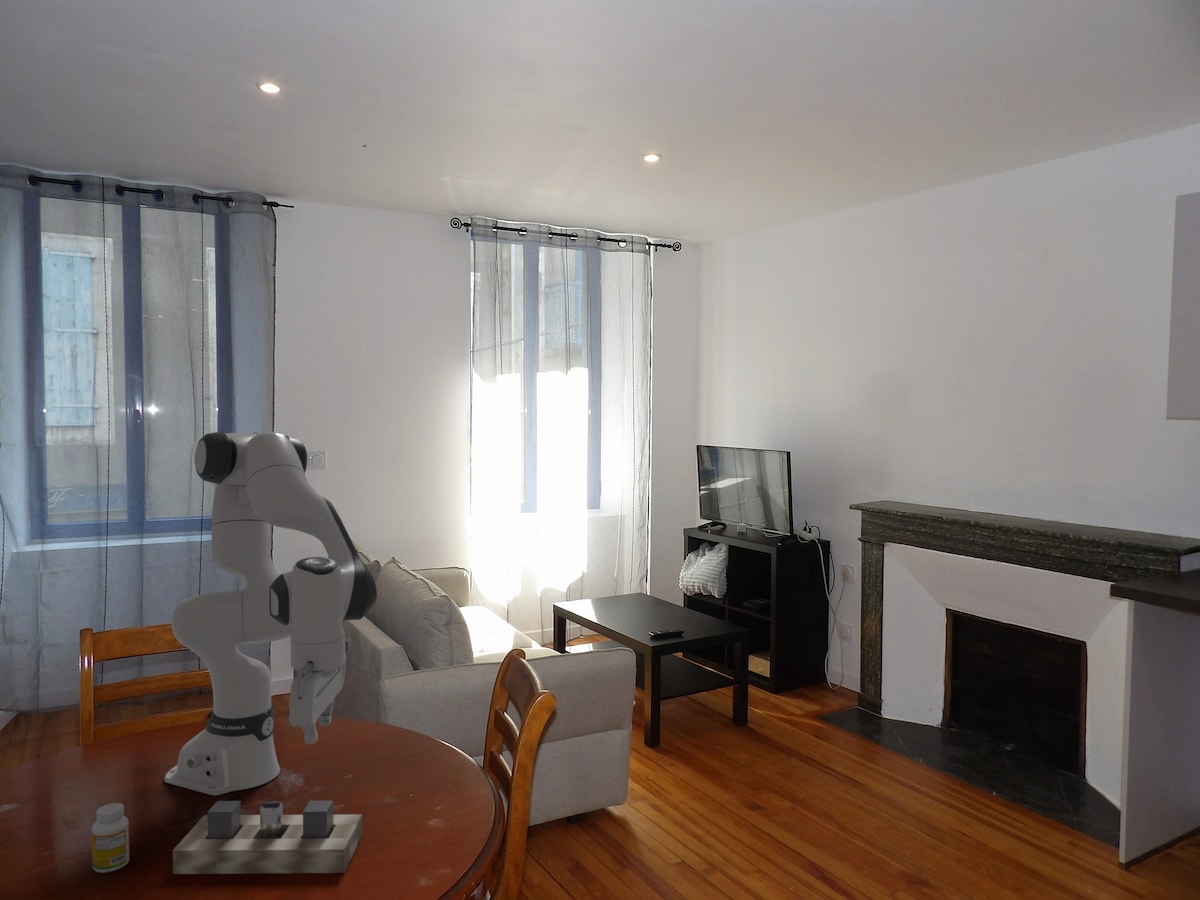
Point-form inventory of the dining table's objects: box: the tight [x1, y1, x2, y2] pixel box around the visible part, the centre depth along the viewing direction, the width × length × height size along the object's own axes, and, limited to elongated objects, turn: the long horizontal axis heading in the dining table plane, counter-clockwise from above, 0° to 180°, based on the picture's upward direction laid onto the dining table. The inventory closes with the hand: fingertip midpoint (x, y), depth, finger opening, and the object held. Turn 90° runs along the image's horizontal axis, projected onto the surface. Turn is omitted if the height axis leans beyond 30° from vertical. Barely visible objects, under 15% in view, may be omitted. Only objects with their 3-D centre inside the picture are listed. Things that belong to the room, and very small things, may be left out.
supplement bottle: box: [91, 802, 130, 874], centre depth 142 cm, size 5×5×10 cm
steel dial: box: [259, 800, 284, 839], centre depth 145 cm, size 4×4×6 cm
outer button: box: [302, 800, 334, 839], centre depth 146 cm, size 4×4×5 cm
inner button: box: [206, 800, 242, 839], centre depth 145 cm, size 4×4×5 cm
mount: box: [172, 813, 363, 875], centre depth 146 cm, size 28×12×4 cm, turn 92°
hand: (318, 733), depth 145 cm, fingers open, 7 cm apart
